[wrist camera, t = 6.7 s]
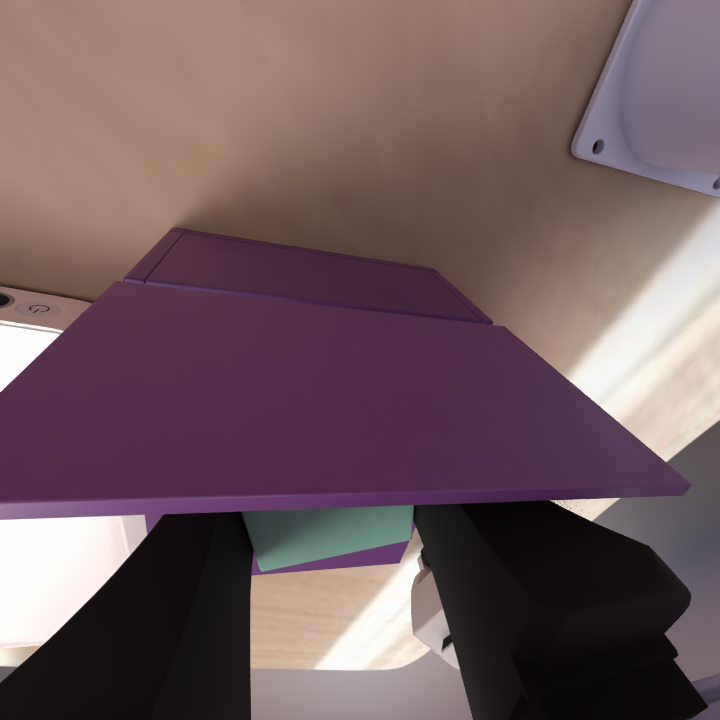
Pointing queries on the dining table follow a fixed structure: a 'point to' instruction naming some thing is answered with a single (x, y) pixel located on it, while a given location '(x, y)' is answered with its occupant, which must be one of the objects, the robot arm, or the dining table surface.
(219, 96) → the dining table surface
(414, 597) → the grey chunky piece
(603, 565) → the robot arm
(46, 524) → the computer
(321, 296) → the purple open box
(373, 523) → the sticky note cube
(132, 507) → the purple box lid
